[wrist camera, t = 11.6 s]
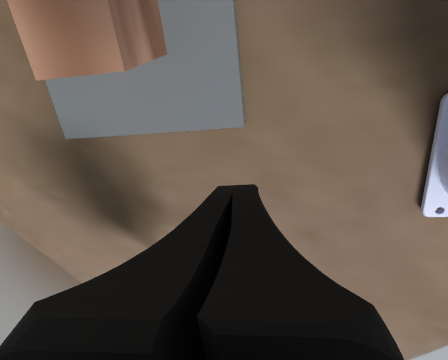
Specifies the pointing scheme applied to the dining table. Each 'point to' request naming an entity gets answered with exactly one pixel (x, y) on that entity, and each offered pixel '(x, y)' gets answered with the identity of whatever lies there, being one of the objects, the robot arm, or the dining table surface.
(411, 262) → the dining table surface
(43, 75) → the block
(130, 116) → the mat
